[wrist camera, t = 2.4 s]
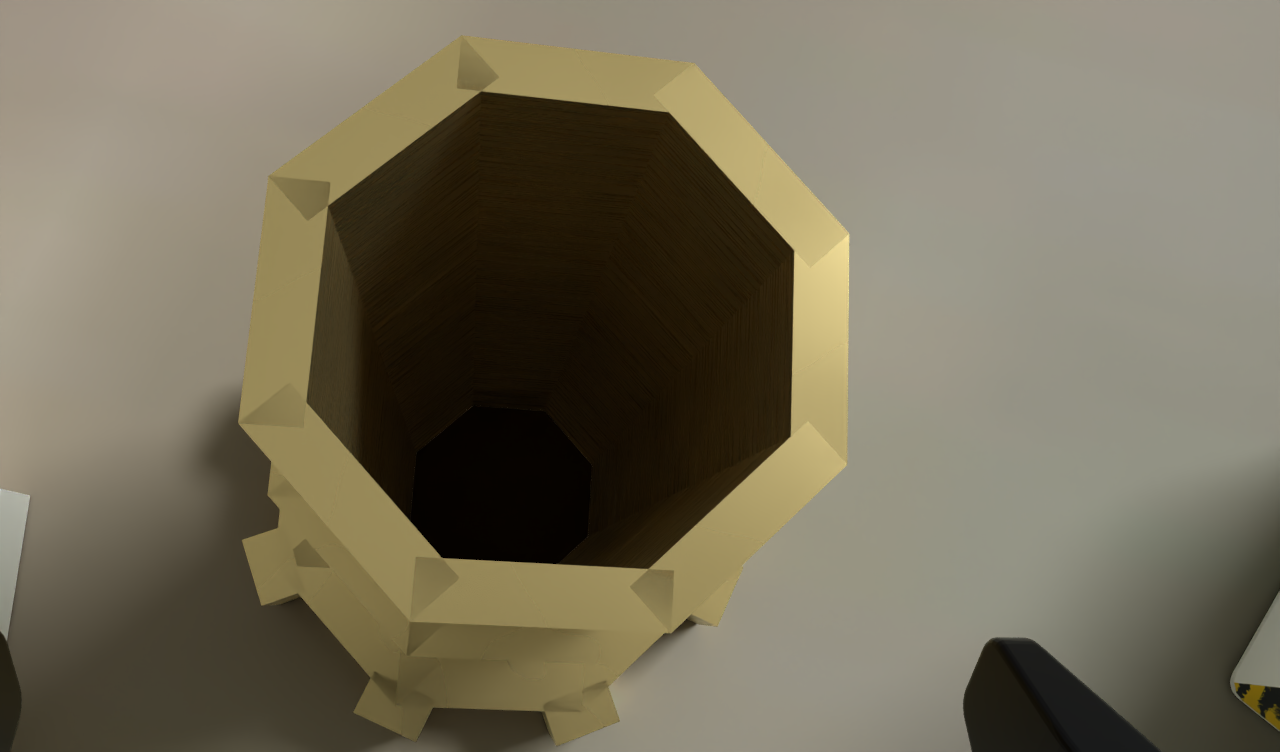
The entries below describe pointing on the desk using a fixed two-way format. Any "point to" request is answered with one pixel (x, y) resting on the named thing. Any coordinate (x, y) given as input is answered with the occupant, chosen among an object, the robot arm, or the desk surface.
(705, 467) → the yellow octagonal tube
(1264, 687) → the white pill bottle
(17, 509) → the gear board
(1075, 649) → the desk surface
